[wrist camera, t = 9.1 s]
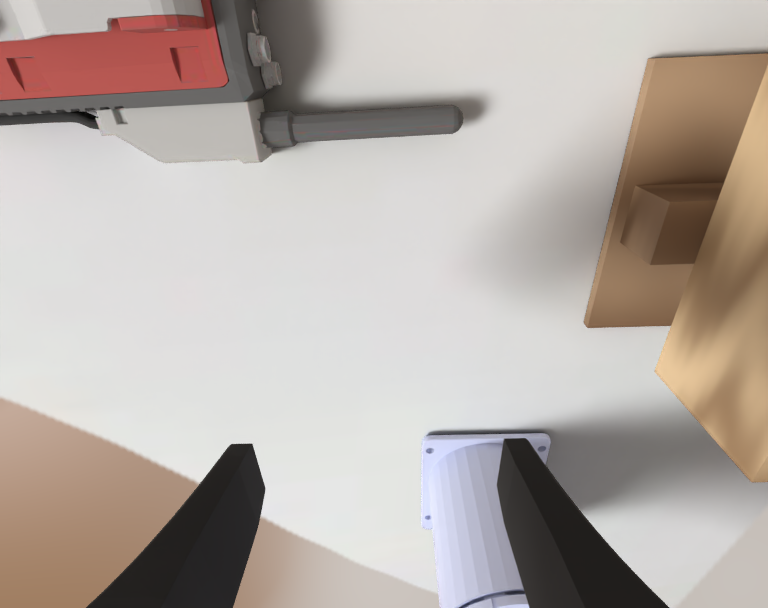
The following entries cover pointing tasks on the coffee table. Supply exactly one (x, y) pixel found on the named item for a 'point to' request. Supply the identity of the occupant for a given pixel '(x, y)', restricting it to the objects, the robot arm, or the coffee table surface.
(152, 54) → the walkie-talkie
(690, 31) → the coffee table surface
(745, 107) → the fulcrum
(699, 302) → the oak bar
